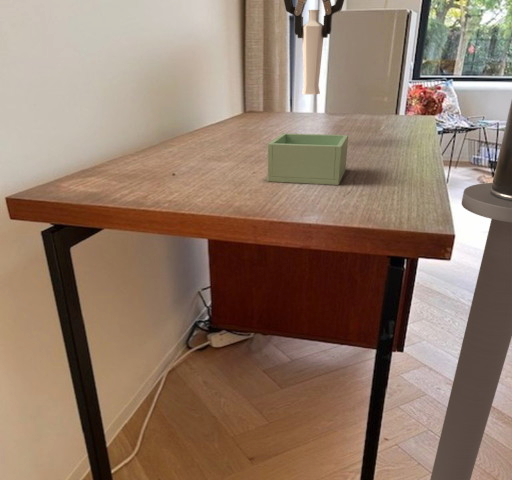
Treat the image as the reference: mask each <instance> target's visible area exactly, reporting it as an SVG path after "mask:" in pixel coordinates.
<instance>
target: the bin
mask: <svg viewBox="0 0 512 480" xmlns="http://www.w3.org/2000/svg"><path fill="white" fill-rule="evenodd" d="M348 143H349V135H348V134H315V133H285V132H284V133H281V134H280V135H278V136H277V137H276V138H274V139H272V140H271V141H269V142H268V143H267V174H266V175H267V182H270V183H272V182H273V183H289V184H291V183H292V184H293V183H294V184H311V185H312V184H313V185H328V186H329V185H332V186H339V184H340V183H341V181H342V178H343V176H344V174H345V172H346V169H347V156H348Z"/></svg>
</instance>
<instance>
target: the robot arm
mask: <svg viewBox="0 0 512 480" xmlns="http://www.w3.org/2000/svg"><path fill="white" fill-rule="evenodd" d="M321 1H322V4H323V9H324V13H325V14H324V15H323V24H322V25H323V39H328V37H329V35H331V33H332V24H333V23H332V22H333V15H334V14H336V13H338V12H341V11H342V10H343V5H344V3H345V0H336V1H335V4H333V5H332V1H331V0H321ZM307 2H308V0H297V2H296V5H295V6H294V2H293V0H283V3H284V8H285V12H287V13H289V14H291V15H293V16H294V34H295V35H296V36H297V39H302V27H303V26H304V16H303V13H304V10H305V7H306V4H307ZM498 153H499V154H498V158H497V162H496V167H495V171H494V175H493V178H492V183H493V184H492V186H491V189H490V194H491V195H493V196H495V197H497V198H500V199H503V200H507V201H512V100H511V101H510V106H509V109H508V114H507V119H506V122H505V127H504V132H503V136H502V140H501V144H500V149H499V152H498Z"/></svg>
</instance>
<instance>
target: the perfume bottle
mask: <svg viewBox="0 0 512 480" xmlns="http://www.w3.org/2000/svg"><path fill="white" fill-rule="evenodd" d="M319 12H320V9H309V10H308V22H306V23H305V24H303V27H302V38H301V39H302V40H301V41H302V70H303V71H302V73H303V77H302V78H303V86H302V92H301V94H302V95H319V94H320V93H321V92H320V87H319V86H320V85H319V84H320V77H321V76H320V74H321V65H322V57H323V46H324V38H323V25H324V24H323V23H321V22H320V21H319V14H320V13H319Z"/></svg>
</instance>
